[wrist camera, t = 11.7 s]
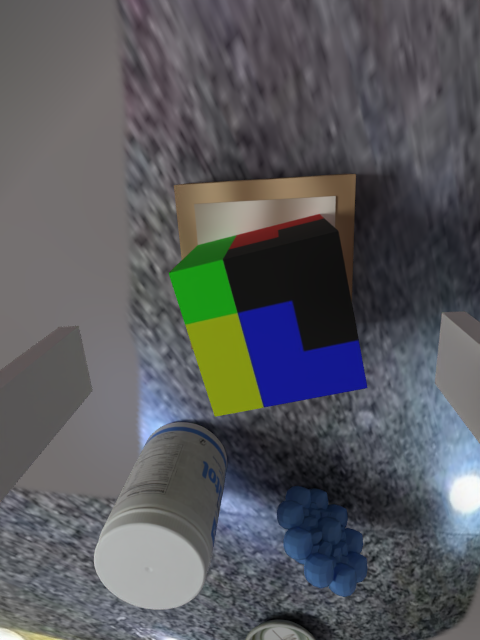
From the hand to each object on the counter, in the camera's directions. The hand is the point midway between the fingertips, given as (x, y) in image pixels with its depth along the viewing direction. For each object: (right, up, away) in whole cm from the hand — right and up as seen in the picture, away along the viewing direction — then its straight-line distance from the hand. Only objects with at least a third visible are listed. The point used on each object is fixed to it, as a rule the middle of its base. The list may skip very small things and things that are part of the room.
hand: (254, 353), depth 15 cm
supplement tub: (-7, -14, +32) cm, 36 cm away
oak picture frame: (+2, +7, +24) cm, 25 cm away
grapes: (+8, -19, +33) cm, 39 cm away
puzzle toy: (+2, +4, +20) cm, 20 cm away
